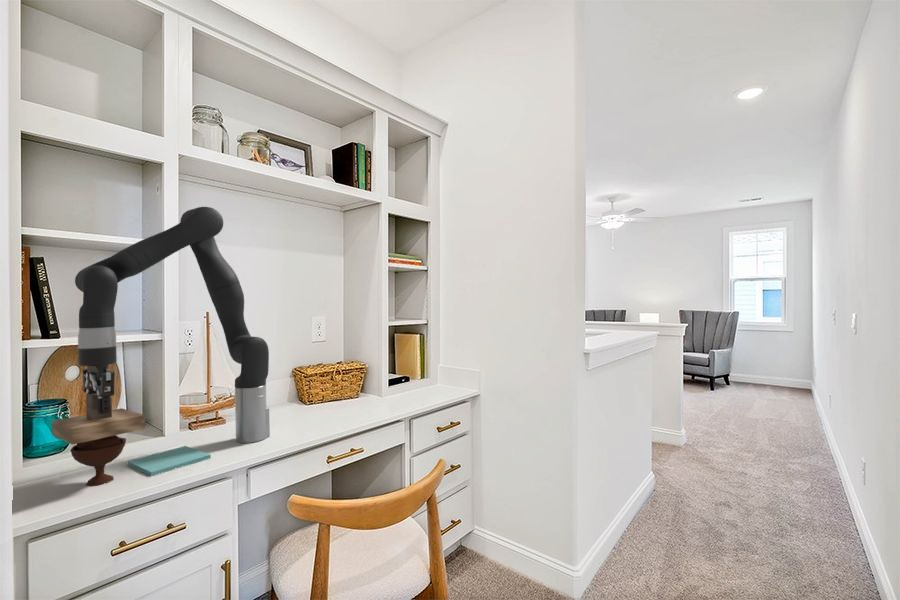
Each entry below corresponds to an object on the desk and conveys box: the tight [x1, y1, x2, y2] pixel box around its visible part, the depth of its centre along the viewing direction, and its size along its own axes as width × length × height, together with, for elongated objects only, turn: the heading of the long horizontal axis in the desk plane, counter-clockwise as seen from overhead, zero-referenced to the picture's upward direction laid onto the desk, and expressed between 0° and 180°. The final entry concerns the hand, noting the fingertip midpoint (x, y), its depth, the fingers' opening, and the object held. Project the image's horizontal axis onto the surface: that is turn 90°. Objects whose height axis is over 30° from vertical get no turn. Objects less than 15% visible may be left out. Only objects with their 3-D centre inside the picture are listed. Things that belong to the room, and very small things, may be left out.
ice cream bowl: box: [70, 435, 127, 487], centre depth 111 cm, size 11×11×15 cm
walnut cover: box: [51, 393, 146, 446], centre depth 111 cm, size 15×15×10 cm
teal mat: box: [127, 445, 211, 477], centre depth 124 cm, size 15×15×1 cm
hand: (98, 411), depth 111 cm, fingers open, 6 cm apart
